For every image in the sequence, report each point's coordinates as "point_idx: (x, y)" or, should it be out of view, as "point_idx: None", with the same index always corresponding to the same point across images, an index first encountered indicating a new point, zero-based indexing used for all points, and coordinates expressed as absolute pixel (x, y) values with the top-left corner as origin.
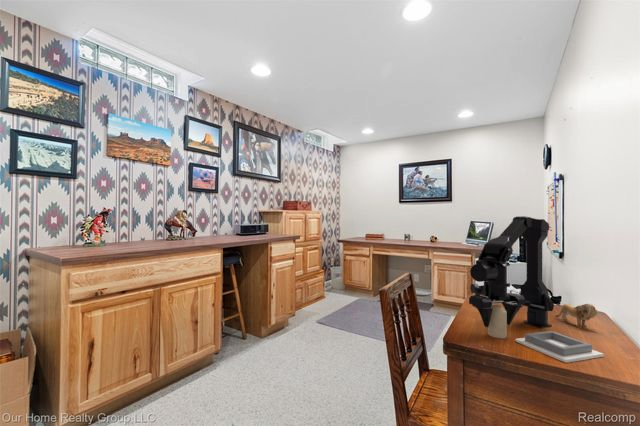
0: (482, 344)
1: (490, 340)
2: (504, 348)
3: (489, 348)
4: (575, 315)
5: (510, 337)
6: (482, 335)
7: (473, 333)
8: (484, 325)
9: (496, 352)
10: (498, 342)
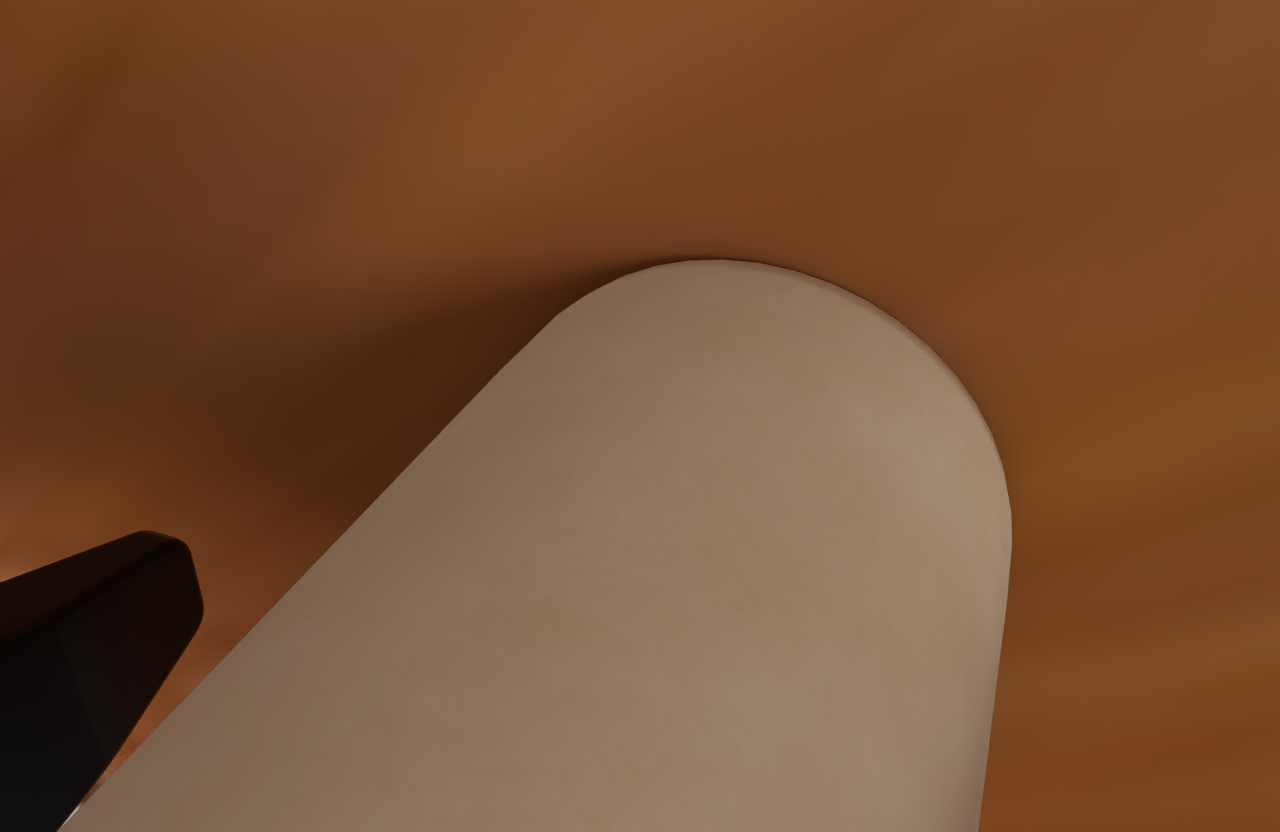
0: (52, 558)
1: (317, 550)
2: None
3: None
4: None
5: None
6: (342, 289)
7: (188, 67)
8: (119, 544)
9: (104, 780)
10: None
